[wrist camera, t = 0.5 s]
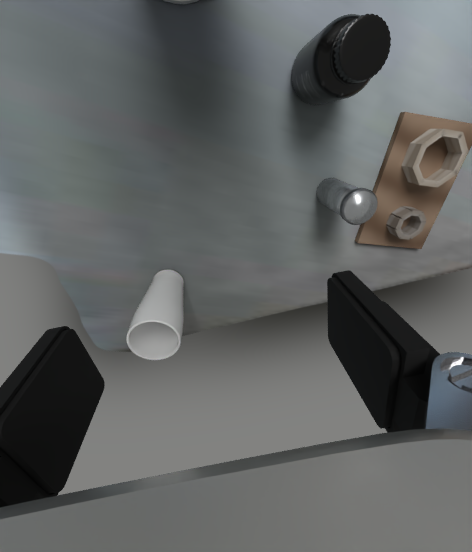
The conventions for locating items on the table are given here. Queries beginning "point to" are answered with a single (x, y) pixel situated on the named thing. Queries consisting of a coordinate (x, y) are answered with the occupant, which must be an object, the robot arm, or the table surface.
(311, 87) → the supplement bottle
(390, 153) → the fitting board
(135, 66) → the table surface
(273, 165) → the table surface
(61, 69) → the table surface
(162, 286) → the drinking glass
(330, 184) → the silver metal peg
